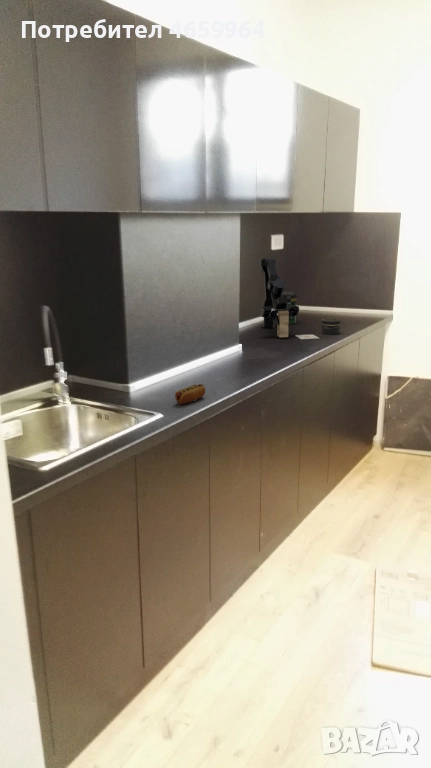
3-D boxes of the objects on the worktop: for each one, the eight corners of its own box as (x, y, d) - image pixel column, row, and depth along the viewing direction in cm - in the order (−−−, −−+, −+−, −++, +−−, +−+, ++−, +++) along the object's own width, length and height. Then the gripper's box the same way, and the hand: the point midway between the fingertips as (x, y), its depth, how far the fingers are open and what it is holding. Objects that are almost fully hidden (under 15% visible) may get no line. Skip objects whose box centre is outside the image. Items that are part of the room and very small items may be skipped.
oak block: (277, 335, 301) (277, 310, 297) (285, 335, 301) (286, 310, 298) (279, 337, 296) (280, 312, 293) (288, 336, 297) (288, 311, 293)
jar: (343, 333, 312) (343, 319, 310) (335, 336, 304) (335, 322, 302) (326, 331, 318) (326, 317, 315) (317, 334, 310) (318, 320, 308)
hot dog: (171, 404, 195) (171, 390, 194) (196, 395, 205) (196, 381, 204) (182, 407, 192) (182, 393, 191) (207, 397, 202) (207, 384, 201)
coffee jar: (277, 324, 340) (278, 292, 335) (281, 321, 347) (281, 290, 342) (294, 324, 337) (295, 292, 331) (297, 322, 344) (298, 291, 339)
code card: (294, 335, 306) (294, 335, 306) (312, 335, 308) (312, 334, 307) (301, 339, 296) (301, 339, 296) (319, 338, 298) (319, 338, 298)
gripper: (263, 291, 294) (269, 316, 287) (298, 290, 298) (305, 314, 290) (259, 304, 304) (264, 328, 297) (293, 303, 307) (299, 327, 300)
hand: (283, 324), depth 296 cm, fingers closed on oak block, 4 cm apart
